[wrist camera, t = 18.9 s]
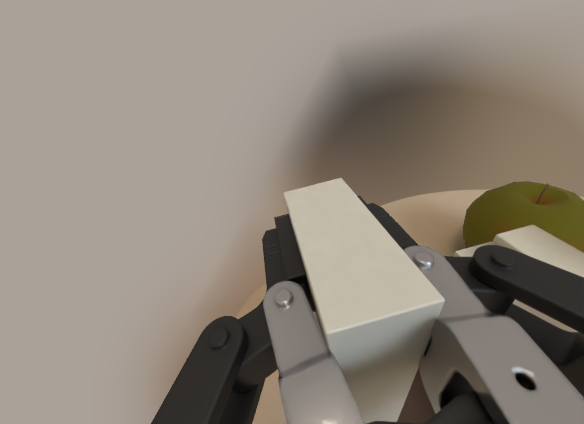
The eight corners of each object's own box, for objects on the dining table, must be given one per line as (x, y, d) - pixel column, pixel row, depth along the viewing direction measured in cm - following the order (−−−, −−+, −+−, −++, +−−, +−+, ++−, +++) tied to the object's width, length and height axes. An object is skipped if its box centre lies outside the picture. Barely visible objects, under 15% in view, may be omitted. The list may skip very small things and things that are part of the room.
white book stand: (348, 494, 15) (337, 480, 7) (314, 352, 22) (290, 269, 14) (571, 423, 16) (781, 340, 8) (467, 309, 23) (523, 207, 15)
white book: (347, 442, 11) (325, 334, 4) (316, 328, 16) (283, 192, 9) (395, 427, 11) (446, 299, 4) (350, 319, 16) (341, 177, 9)
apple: (441, 234, 32) (462, 164, 25) (524, 233, 29) (570, 156, 23) (474, 296, 24) (517, 219, 17) (590, 302, 21) (689, 216, 15)
